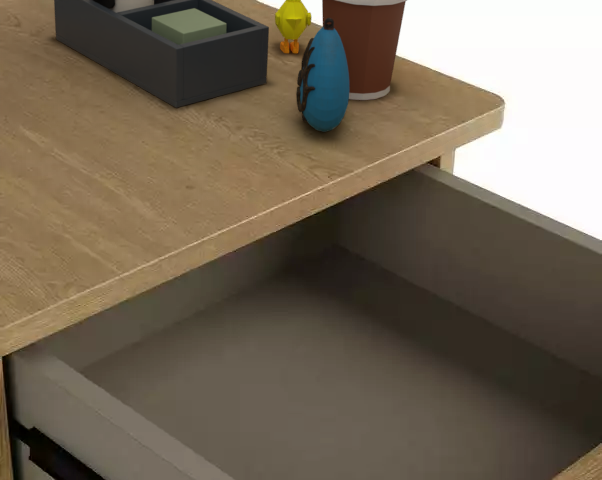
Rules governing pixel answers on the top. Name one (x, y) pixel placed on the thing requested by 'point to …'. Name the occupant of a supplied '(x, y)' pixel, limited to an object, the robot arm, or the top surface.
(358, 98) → the coffee cup
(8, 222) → the top surface
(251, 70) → the dark grey divided tray
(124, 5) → the white cylinder
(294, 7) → the toy figure
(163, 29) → the sage block
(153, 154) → the top surface
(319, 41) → the ornament
